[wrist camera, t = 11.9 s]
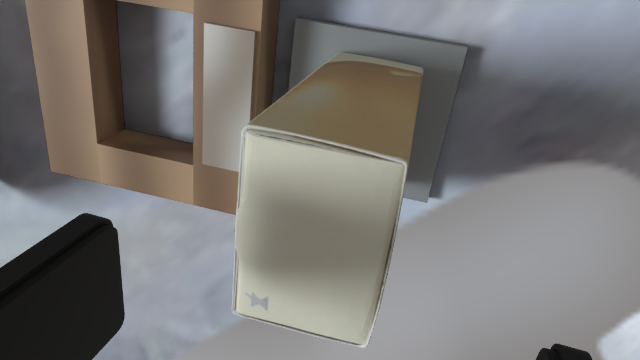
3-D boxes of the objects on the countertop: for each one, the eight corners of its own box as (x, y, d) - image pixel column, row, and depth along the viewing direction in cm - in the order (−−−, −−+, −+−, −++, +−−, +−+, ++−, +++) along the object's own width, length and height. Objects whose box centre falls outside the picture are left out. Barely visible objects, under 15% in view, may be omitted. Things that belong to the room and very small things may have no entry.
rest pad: (467, 45, 21) (467, 47, 21) (427, 197, 25) (426, 202, 24) (298, 17, 23) (295, 18, 22) (283, 166, 26) (280, 170, 26)
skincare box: (400, 183, 24) (368, 362, 14) (319, 166, 25) (227, 324, 14) (427, 58, 21) (416, 161, 11) (335, 43, 22) (236, 125, 11)
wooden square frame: (282, -36, 22) (263, -35, 19) (264, 197, 27) (247, 219, 25) (53, -70, 23) (10, -73, 21) (80, 155, 29) (48, 172, 27)
